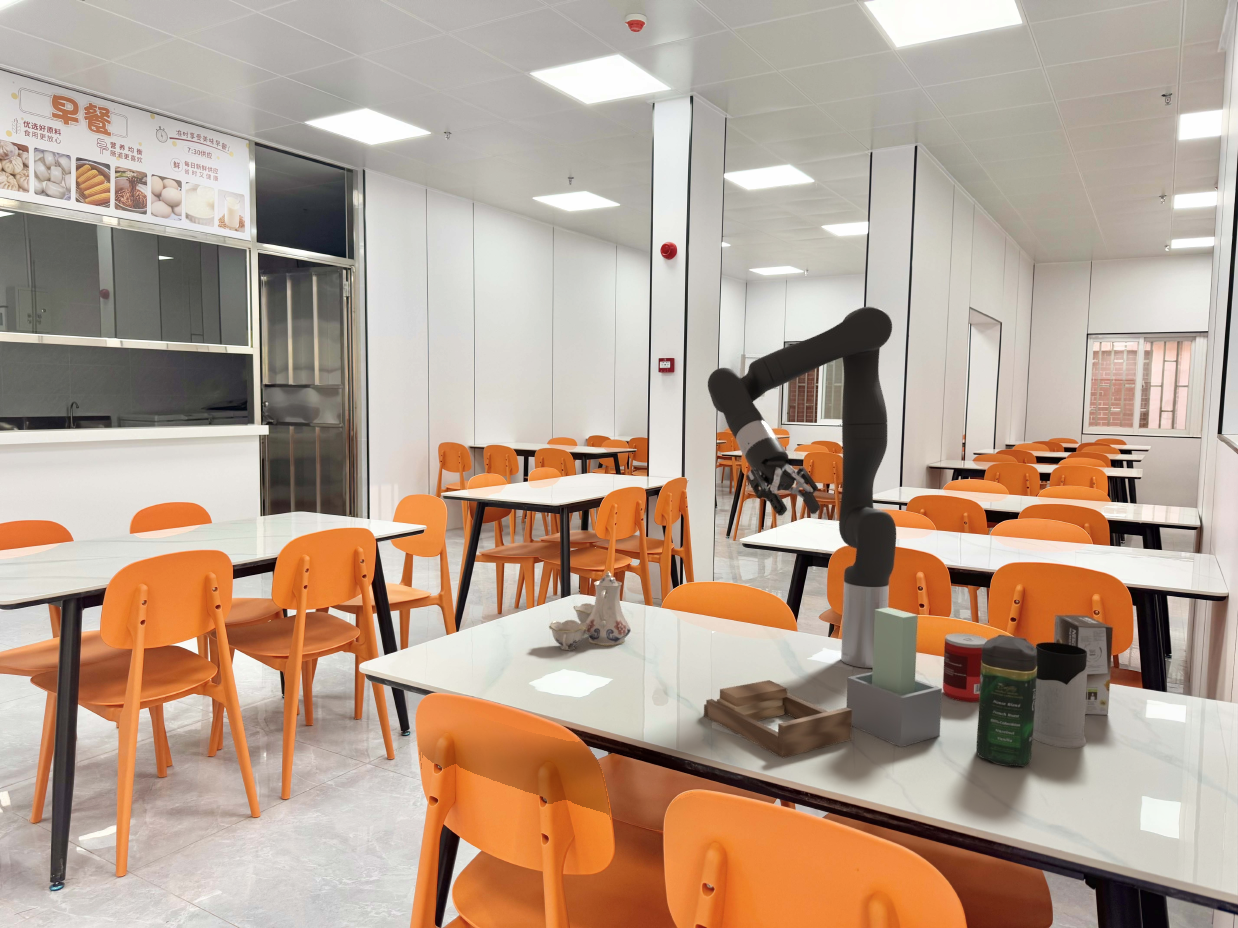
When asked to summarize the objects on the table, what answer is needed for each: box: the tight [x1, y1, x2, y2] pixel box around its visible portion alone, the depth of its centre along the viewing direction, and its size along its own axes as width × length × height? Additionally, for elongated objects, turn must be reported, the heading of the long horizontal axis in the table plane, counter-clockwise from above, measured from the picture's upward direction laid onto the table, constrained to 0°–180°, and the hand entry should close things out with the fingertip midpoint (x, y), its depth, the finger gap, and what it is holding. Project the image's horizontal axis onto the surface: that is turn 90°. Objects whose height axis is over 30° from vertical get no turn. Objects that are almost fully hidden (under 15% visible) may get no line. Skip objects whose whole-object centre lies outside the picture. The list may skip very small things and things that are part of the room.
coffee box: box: [1053, 614, 1114, 716], centre depth 151 cm, size 9×6×16 cm
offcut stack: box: [716, 679, 788, 722], centre depth 144 cm, size 12×5×5 cm, turn 121°
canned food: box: [942, 633, 988, 703], centre depth 156 cm, size 8×8×11 cm
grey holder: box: [846, 671, 943, 748], centre depth 139 cm, size 10×12×8 cm
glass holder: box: [1033, 641, 1087, 749], centre depth 138 cm, size 9×14×15 cm, turn 47°
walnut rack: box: [703, 693, 852, 759], centre depth 139 cm, size 15×20×5 cm
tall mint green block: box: [871, 607, 919, 696], centre depth 138 cm, size 4×6×20 cm, turn 31°
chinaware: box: [548, 570, 631, 651], centre depth 190 cm, size 28×17×17 cm, turn 170°
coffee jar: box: [976, 634, 1037, 767], centre depth 128 cm, size 10×8×19 cm
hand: (800, 512), depth 156 cm, fingers open, 8 cm apart
